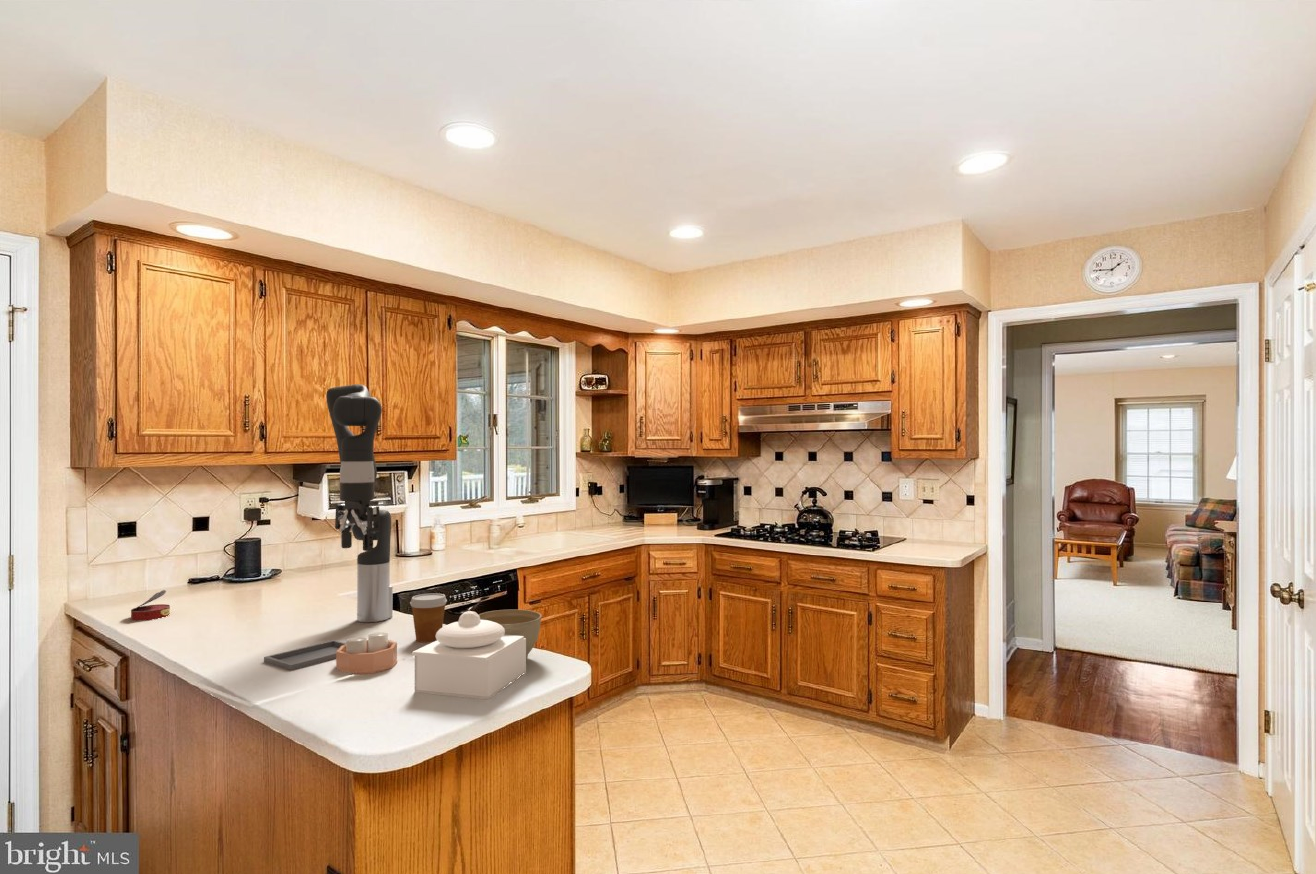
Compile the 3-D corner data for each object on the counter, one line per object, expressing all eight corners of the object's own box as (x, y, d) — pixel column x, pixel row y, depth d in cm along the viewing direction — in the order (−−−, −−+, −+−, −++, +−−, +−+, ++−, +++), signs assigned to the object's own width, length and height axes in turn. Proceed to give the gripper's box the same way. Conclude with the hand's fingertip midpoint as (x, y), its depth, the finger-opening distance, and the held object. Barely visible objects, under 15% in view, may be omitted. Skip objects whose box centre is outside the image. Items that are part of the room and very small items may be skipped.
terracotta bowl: (375, 654, 176) (375, 636, 176) (408, 663, 169) (408, 644, 169) (325, 668, 165) (325, 649, 165) (358, 678, 158) (358, 658, 158)
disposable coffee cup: (412, 648, 182) (412, 601, 182) (407, 639, 190) (407, 595, 190) (450, 643, 186) (450, 598, 186) (443, 635, 194) (443, 591, 195)
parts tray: (334, 646, 183) (334, 640, 183) (361, 654, 176) (361, 647, 176) (263, 664, 168) (263, 657, 168) (290, 673, 161) (290, 665, 162)
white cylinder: (380, 656, 172) (380, 631, 172) (391, 658, 170) (391, 634, 170) (364, 660, 168) (364, 635, 168) (375, 663, 166) (375, 638, 166)
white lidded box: (525, 674, 161) (525, 604, 161) (487, 701, 143) (487, 623, 144) (458, 668, 165) (458, 600, 166) (412, 693, 148) (412, 618, 148)
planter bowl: (539, 669, 163) (539, 623, 163) (468, 672, 161) (468, 625, 162) (543, 650, 179) (543, 607, 179) (478, 652, 177) (479, 609, 178)
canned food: (147, 636, 213) (130, 610, 209) (132, 628, 218) (116, 603, 214) (184, 612, 222) (169, 587, 217) (168, 605, 227) (154, 581, 222)
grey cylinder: (359, 661, 167) (359, 636, 168) (370, 664, 165) (370, 639, 165) (342, 666, 164) (342, 640, 164) (353, 669, 161) (353, 643, 162)
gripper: (389, 480, 164) (389, 549, 164) (354, 479, 172) (353, 545, 172) (360, 481, 158) (360, 553, 158) (325, 480, 166) (324, 549, 166)
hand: (357, 549), depth 165 cm, fingers open, 8 cm apart
